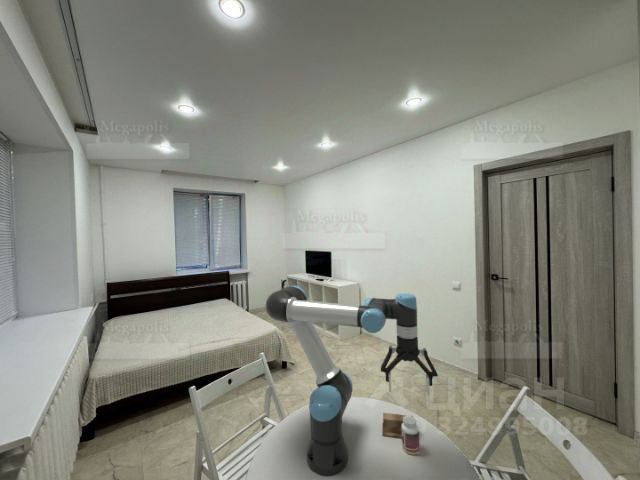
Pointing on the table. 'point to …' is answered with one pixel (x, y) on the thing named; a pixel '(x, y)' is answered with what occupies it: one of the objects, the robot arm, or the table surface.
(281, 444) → the table surface
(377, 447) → the table surface
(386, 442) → the table surface
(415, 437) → the pill bottle
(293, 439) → the table surface
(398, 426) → the brown wooden block
